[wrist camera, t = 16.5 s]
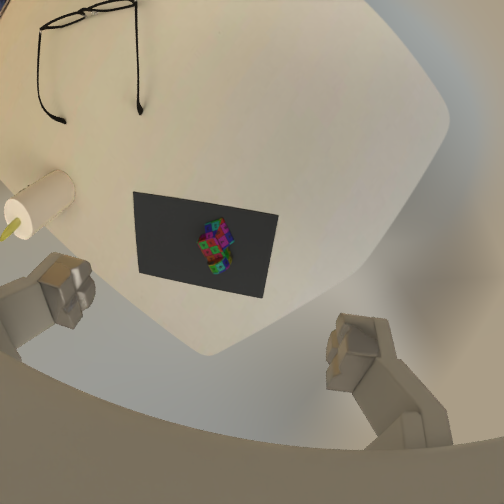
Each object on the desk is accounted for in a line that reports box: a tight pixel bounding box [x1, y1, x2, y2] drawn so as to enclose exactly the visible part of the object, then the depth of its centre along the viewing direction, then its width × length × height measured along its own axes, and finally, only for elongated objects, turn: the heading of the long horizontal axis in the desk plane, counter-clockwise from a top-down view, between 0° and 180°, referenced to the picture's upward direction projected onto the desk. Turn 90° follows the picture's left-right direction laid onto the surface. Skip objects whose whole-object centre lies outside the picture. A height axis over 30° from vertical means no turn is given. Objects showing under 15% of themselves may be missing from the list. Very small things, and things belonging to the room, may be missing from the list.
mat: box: [133, 192, 278, 298], centre depth 44 cm, size 20×14×1 cm
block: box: [197, 218, 235, 274], centre depth 41 cm, size 6×4×3 cm
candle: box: [0, 170, 75, 241], centre depth 36 cm, size 6×6×15 cm
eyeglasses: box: [37, 0, 143, 124], centre depth 29 cm, size 16×16×4 cm
